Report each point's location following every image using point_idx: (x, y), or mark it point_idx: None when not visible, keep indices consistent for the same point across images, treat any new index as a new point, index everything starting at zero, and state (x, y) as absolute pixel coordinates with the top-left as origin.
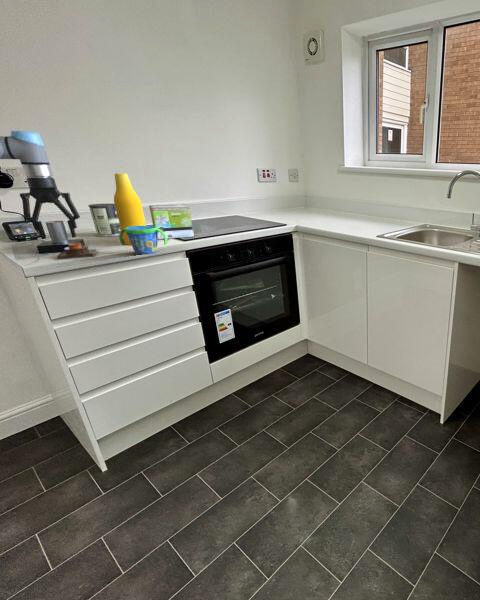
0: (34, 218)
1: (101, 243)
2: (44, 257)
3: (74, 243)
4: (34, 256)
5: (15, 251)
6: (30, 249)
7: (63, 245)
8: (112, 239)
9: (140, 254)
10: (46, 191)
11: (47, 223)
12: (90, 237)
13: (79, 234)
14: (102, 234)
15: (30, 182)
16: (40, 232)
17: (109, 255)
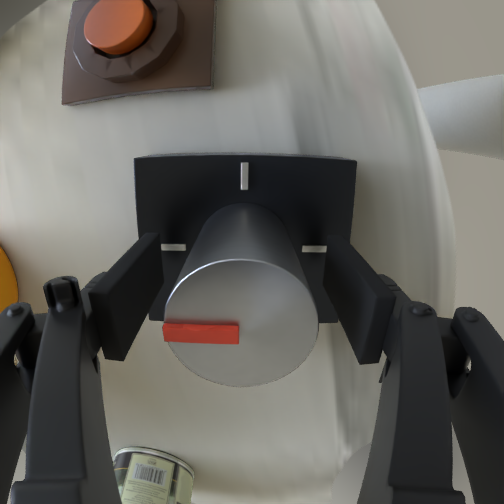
0: (416, 321)
1: None
2: (291, 44)
3: (115, 36)
4: (346, 93)
5: (433, 270)
6: None
7: (212, 154)
8: (105, 397)
9: None
10: None
11: (295, 275)
12: (204, 453)
13: (254, 490)
14: (163, 458)
15: None
16: (352, 252)
17: (29, 25)
